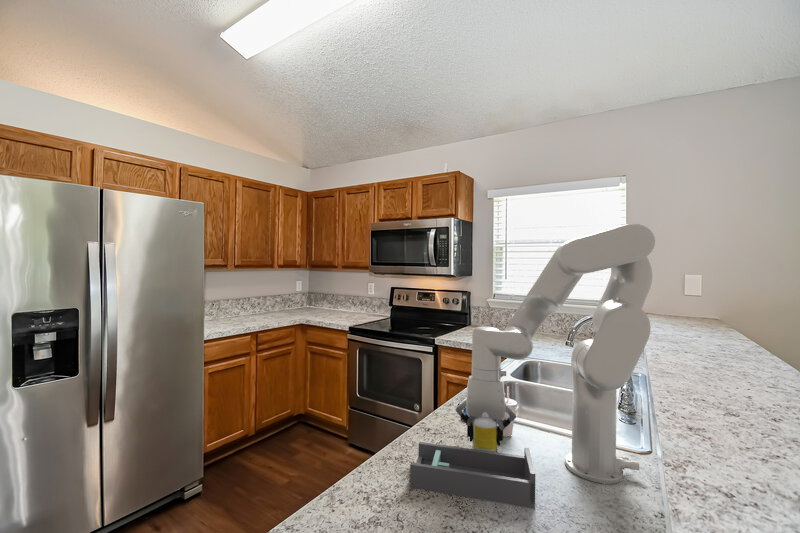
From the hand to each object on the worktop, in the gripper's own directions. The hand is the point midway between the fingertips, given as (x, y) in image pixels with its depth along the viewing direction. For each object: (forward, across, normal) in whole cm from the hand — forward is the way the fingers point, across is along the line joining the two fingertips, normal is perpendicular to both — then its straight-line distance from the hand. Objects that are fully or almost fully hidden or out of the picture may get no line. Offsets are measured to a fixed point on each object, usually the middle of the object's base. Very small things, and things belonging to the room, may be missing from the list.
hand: (484, 440), depth 94 cm
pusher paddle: (+2, +10, +15) cm, 18 cm away
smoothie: (+3, -6, -13) cm, 15 cm away
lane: (+3, +3, +15) cm, 16 cm away
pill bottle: (+3, 0, 0) cm, 3 cm away
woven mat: (+4, +2, -23) cm, 23 cm away
